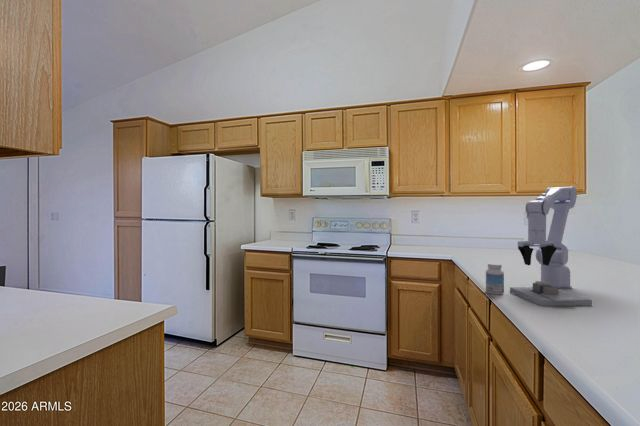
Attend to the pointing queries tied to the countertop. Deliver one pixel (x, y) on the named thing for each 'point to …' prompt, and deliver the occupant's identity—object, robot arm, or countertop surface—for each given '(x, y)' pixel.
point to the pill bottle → (494, 279)
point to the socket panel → (544, 301)
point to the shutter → (555, 294)
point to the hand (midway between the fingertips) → (536, 264)
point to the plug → (539, 286)
